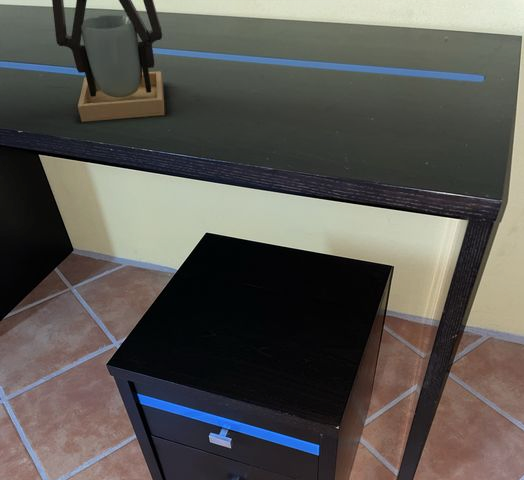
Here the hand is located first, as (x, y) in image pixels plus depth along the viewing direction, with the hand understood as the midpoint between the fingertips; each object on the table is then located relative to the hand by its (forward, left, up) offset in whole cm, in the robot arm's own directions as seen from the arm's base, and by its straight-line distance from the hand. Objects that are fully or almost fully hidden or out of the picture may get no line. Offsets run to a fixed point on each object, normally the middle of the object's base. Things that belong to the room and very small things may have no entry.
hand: (121, 91), depth 83 cm
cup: (0, 0, 0) cm, 0 cm away
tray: (0, 0, -2) cm, 2 cm away
